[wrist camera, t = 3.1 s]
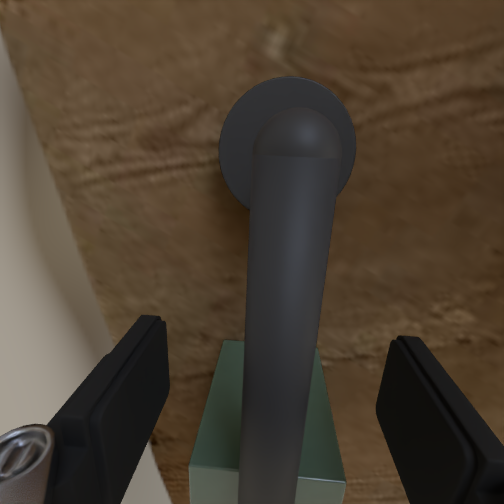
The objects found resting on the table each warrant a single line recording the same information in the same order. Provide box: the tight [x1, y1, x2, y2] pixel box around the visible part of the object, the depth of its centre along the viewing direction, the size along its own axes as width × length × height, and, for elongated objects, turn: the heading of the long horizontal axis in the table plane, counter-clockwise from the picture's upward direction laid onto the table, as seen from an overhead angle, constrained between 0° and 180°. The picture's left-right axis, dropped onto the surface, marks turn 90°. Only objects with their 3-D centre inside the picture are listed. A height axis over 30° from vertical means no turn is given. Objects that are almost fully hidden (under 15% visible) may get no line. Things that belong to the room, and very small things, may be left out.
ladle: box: [219, 76, 356, 504], centre depth 10 cm, size 16×5×8 cm, turn 177°
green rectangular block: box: [189, 340, 347, 504], centre depth 13 cm, size 5×5×7 cm
